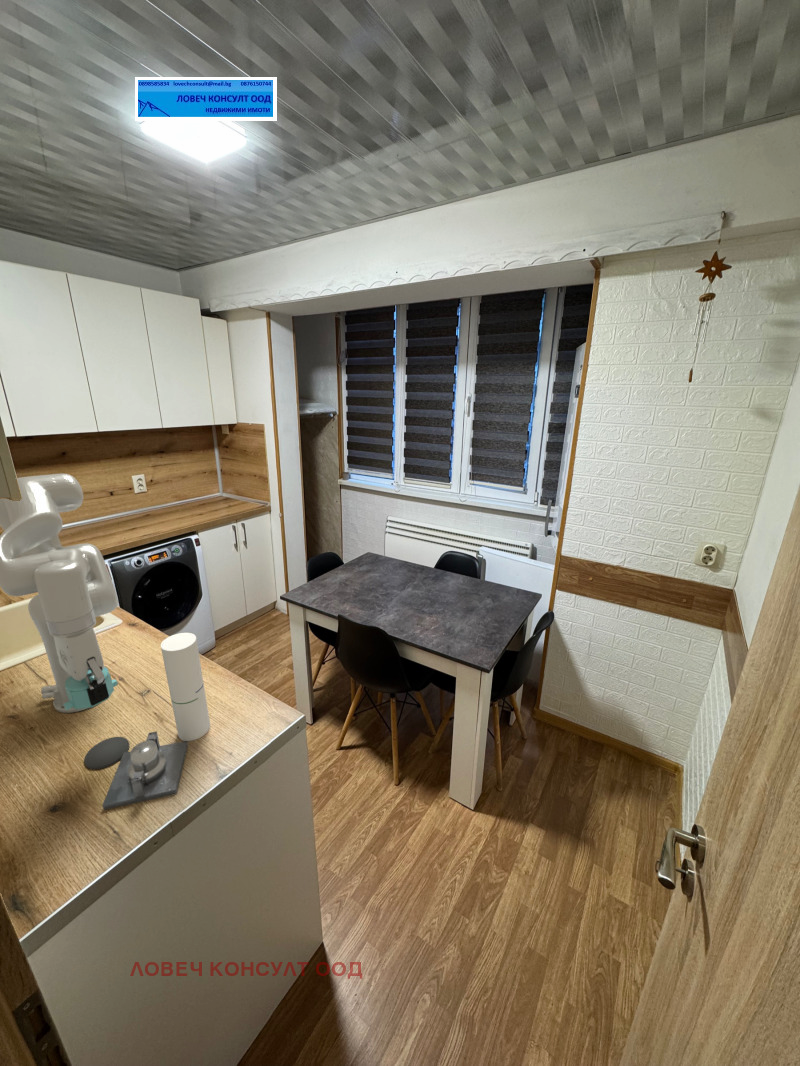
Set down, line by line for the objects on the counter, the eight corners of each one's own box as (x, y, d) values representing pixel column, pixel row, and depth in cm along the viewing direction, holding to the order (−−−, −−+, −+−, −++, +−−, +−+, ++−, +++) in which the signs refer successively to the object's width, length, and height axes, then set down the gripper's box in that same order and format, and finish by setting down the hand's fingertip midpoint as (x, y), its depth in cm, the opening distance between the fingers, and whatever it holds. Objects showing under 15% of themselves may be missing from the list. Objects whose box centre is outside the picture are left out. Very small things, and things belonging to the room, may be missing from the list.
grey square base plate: (176, 794, 86) (170, 768, 83) (103, 809, 82) (95, 783, 80) (188, 744, 97) (183, 720, 95) (124, 756, 94) (118, 732, 92)
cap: (73, 717, 84) (67, 696, 82) (58, 702, 87) (52, 682, 86) (124, 690, 91) (120, 670, 90) (109, 678, 95) (104, 659, 93)
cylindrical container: (216, 722, 104) (203, 636, 96) (194, 744, 97) (178, 653, 89) (193, 715, 106) (179, 630, 98) (171, 736, 100) (152, 646, 91)
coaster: (78, 773, 90) (77, 771, 89) (93, 742, 97) (93, 740, 97) (122, 764, 92) (122, 762, 92) (134, 735, 100) (133, 733, 99)
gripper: (32, 615, 85) (54, 687, 91) (67, 644, 76) (89, 721, 82) (75, 601, 91) (93, 669, 97) (112, 626, 82) (130, 699, 87)
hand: (91, 692), depth 89 cm, fingers closed on cap, 7 cm apart
